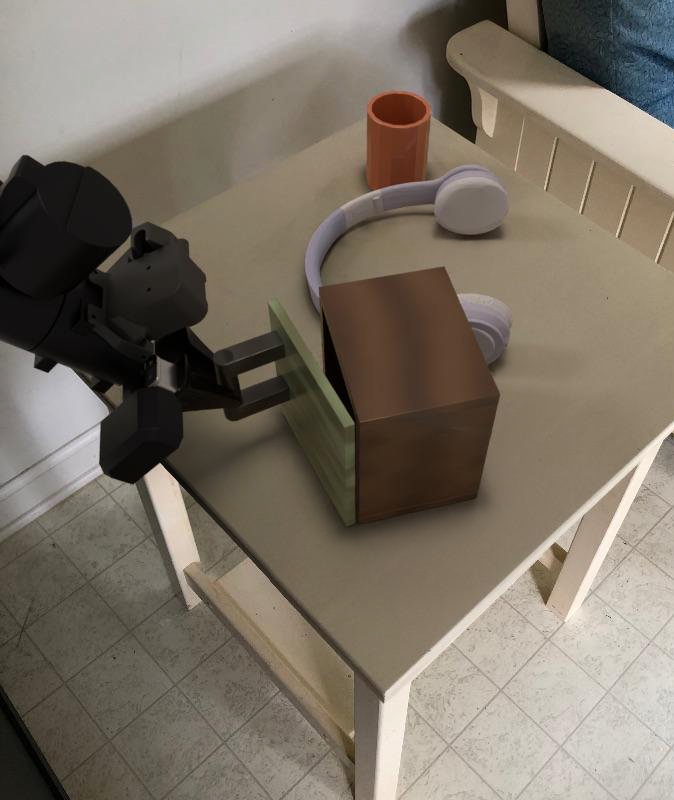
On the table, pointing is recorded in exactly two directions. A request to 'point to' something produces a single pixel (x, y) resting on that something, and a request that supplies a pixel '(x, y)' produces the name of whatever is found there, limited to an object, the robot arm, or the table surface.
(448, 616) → the table surface
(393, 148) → the cup
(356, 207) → the headphones
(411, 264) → the table surface
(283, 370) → the door
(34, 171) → the robot arm
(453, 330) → the cupboard
